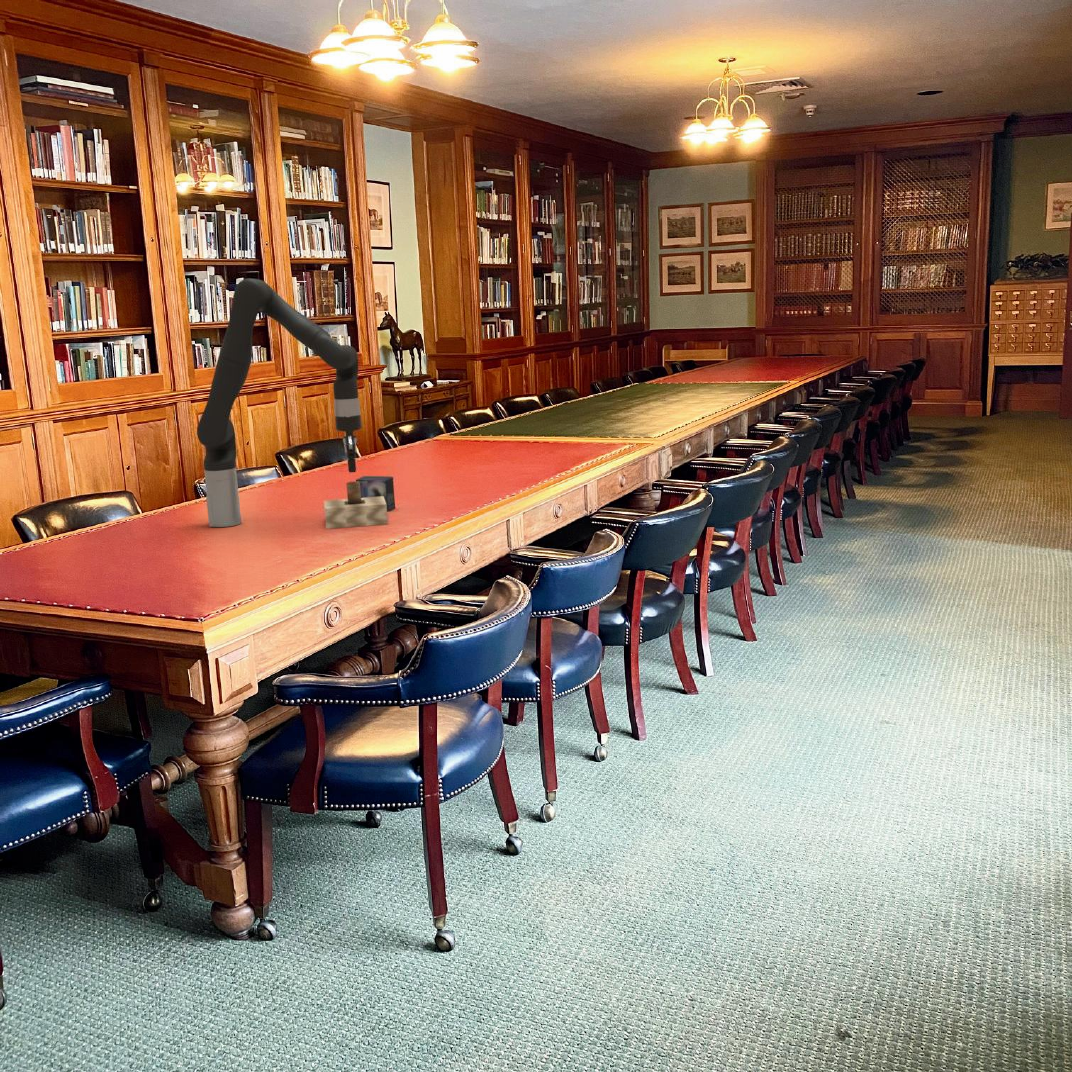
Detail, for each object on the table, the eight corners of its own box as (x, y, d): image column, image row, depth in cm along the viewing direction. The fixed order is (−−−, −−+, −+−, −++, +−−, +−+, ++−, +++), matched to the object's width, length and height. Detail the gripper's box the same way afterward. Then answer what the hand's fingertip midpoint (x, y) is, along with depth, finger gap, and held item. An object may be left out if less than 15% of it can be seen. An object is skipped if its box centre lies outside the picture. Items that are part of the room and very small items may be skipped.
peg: (349, 523, 317) (346, 484, 315) (349, 521, 321) (345, 482, 319) (363, 522, 318) (360, 483, 315) (363, 520, 322) (359, 481, 319)
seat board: (326, 528, 311) (324, 508, 310) (325, 519, 325) (324, 500, 323) (387, 524, 315) (386, 504, 313) (384, 515, 328) (383, 496, 327)
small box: (357, 511, 336) (354, 479, 333) (366, 507, 342) (363, 475, 339) (387, 512, 333) (385, 479, 330) (396, 508, 339) (393, 476, 336)
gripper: (334, 412, 318) (339, 469, 322) (335, 417, 305) (340, 476, 309) (359, 411, 320) (364, 467, 323) (361, 415, 307) (366, 474, 311)
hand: (352, 471), depth 316 cm, fingers closed
